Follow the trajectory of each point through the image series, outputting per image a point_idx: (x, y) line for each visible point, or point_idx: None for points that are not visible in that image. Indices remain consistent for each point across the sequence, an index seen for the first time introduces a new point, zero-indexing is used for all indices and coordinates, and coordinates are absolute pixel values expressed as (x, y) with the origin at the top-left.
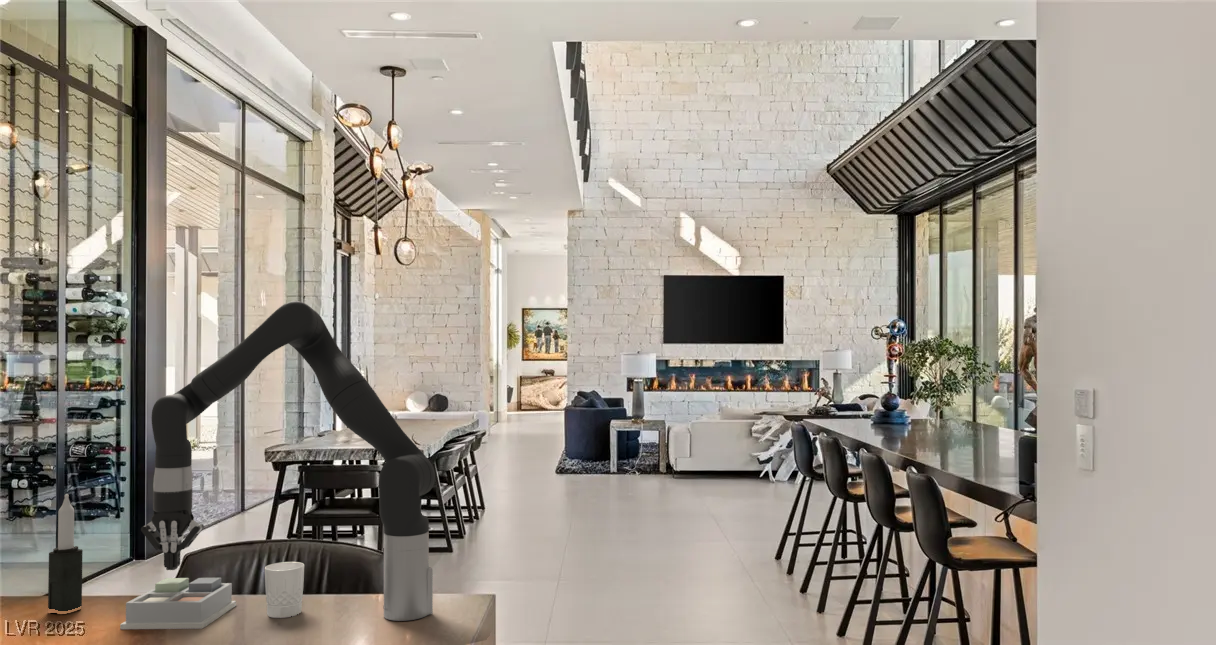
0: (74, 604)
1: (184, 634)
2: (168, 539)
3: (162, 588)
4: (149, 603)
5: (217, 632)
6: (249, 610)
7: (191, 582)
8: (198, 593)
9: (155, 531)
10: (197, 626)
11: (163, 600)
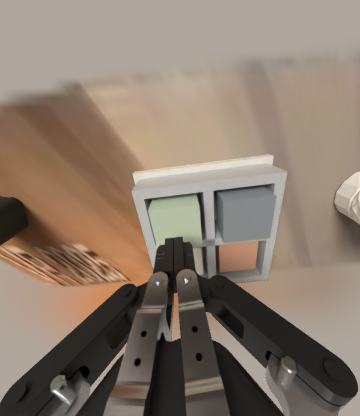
0: (15, 220)
1: None
2: (169, 339)
3: None
4: None
5: (279, 265)
6: (300, 180)
7: (225, 236)
8: (243, 242)
9: (75, 363)
10: None
11: (196, 262)
